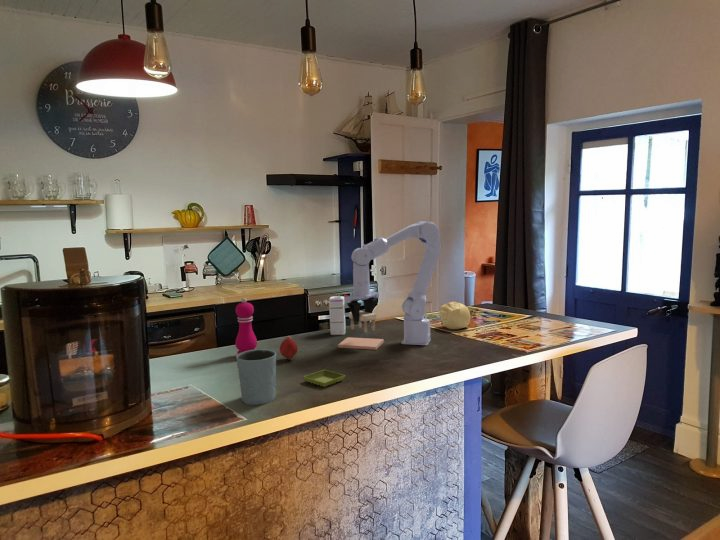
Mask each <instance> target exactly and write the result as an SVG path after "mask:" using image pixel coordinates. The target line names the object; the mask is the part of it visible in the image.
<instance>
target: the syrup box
mask: <svg viewBox="0 0 720 540" xmlns="http://www.w3.org/2000/svg"><path fill="white" fill-rule="evenodd" d="M344 297H345V296H344V295H336V296H335V295H334V296H330V297H329V298H328V303H329V304H328V305H329V307H328V308H329V328H330V335H331V336H342V335H343V336H344V335H345V334H346V330H347V329H346V328H347V326H346V310H345V309H346V308H345V302H344Z"/></svg>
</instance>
